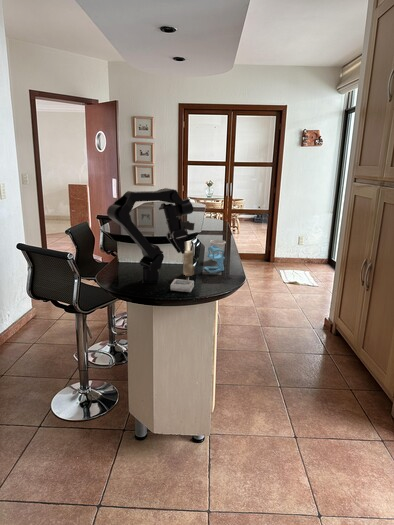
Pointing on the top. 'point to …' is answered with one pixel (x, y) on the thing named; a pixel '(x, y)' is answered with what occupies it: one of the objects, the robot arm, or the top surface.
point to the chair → (216, 257)
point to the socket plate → (182, 285)
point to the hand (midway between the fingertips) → (181, 253)
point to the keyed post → (188, 263)
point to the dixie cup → (217, 245)
